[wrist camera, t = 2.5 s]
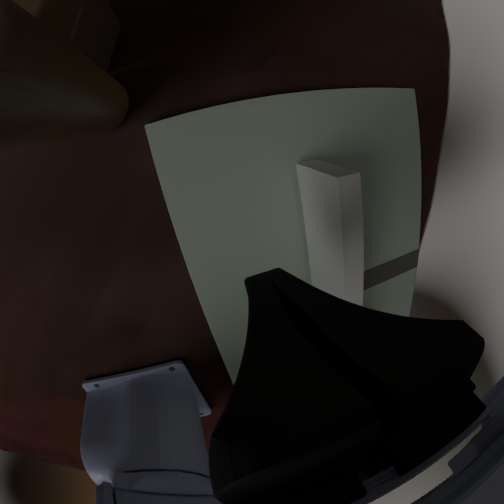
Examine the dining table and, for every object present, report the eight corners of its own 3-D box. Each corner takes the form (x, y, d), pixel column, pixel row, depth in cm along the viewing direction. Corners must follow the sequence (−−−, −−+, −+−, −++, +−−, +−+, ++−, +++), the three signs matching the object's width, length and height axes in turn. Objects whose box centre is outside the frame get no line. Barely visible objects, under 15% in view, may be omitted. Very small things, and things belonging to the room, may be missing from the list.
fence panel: (327, 287, 20) (361, 325, 16) (312, 293, 20) (344, 333, 16) (314, 159, 16) (359, 172, 12) (295, 163, 15) (337, 177, 11)
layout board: (236, 389, 24) (238, 396, 23) (145, 125, 14) (144, 125, 13) (403, 320, 26) (407, 324, 25) (407, 88, 16) (414, 88, 15)
